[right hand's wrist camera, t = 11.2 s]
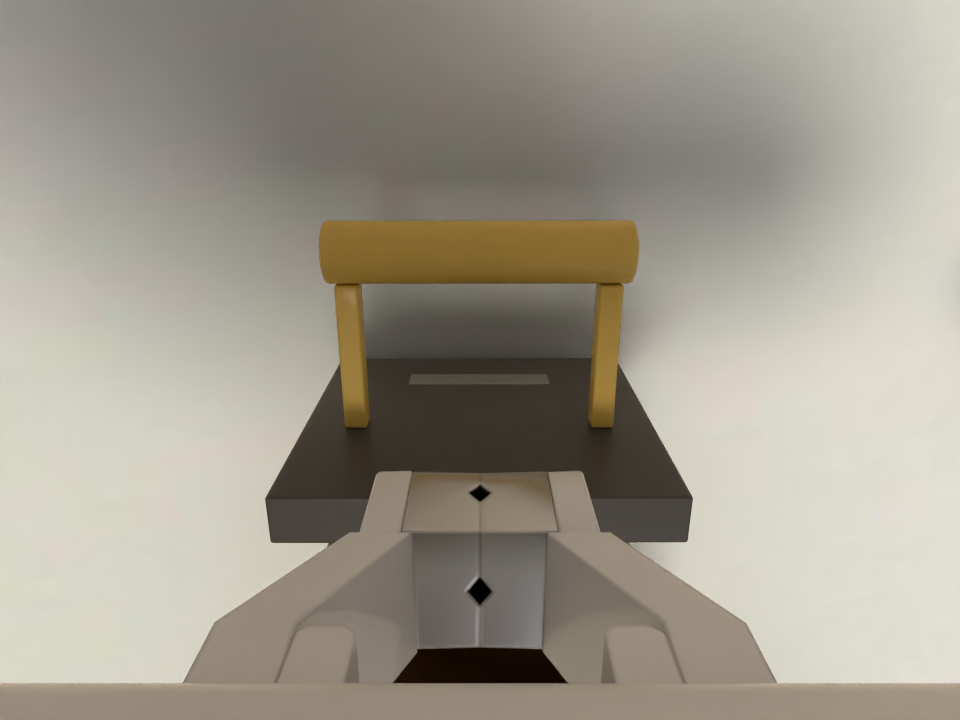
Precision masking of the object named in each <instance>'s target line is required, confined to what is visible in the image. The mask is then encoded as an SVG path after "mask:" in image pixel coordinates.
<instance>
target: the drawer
mask: <svg viewBox="0 0 960 720" xmlns="http://www.w3.org/2000/svg"><path fill="white" fill-rule="evenodd" d="M638 254H639V242H638V233H637V228H636V225H635V223H634V222H633V221H630V220H542V221H325V222H324V223H323V224H322V227H321V231H320V237H319V259H320V267H321V272H322V275H323V278H324V280H325V282H327V283H329V284H336V285H335V287H334V290H335V303H336V316H337V329H338V342H339V355H340V364H339V366H338V368H337V370H336V371H335V373H334V375H333V377H332V379H331V381H330V382H329V384H328V386H327V388H326V390H325V391H324V393H323V395H322V397H321V399H320V400H319V402H318V404H317V406H316V408H315V409H314V411H313V413H312V415H311V417H310V418H309V420H308V422H307V424H306V426H305V428H304V429H303V431H302V433H301V435H300V437H299V438H298V440H297V442H296V444H295V446H294V447H293V449H292V451H291V453H290V455H289V456H288V458H287V460H286V462H285V464H284V465H283V467H282V469H281V471H280V473H279V475H278V476H277V478H276V480H275V482H274V484H273V485H272V487H271V489H270V491H269V493H268V494H267V496H266V499H265V501H266V508H267V516H268V524H269V532H270V540H271V542H272V543H328V546H327V547H329V546H330V545H332V544H333V543H335V542H336V541H338V540H339V539H341V538H342V537H344V536H345V535H347V534H348V533H350V532H360V529H361V525H362V522H363V519H364V515H365V512H366V508H367V505H368V501H369V498H370V494H371V491H372V487H373V484H374V481H375V477H376V475H377V474H378V473H379V472H382V471H412V472H466V473H507V472H561V471H581V472H582V473H583V475H584V478H585V481H586V485H587V488H588V492H589V495H590V498H591V502H592V505H593V509H594V512H595V515H596V519H597V522H598V526H599V529H600V532H610V533H612V534H613V535H615V536H616V537H618V538H619V539H621V540H622V541H624V542H625V543H627V544H628V545H630V543H629V542H687V540H688V533H689V525H690V517H691V509H692V501H693V498H692V495H691V494H690V492H689V490H688V488H687V486H686V485H685V483H684V481H683V479H682V477H681V476H680V474H679V472H678V470H677V468H676V467H675V465H674V463H673V461H672V459H671V458H670V456H669V454H668V452H667V450H666V449H665V447H664V445H663V443H662V441H661V440H660V438H659V436H658V434H657V432H656V431H655V429H654V427H653V425H652V423H651V422H650V420H649V418H648V416H647V414H646V413H645V411H644V409H643V407H642V405H641V404H640V402H639V400H638V398H637V396H636V395H635V393H634V391H633V389H632V387H631V386H630V384H629V382H628V380H627V378H626V377H625V375H624V373H623V371H622V369H621V368H620V366H619V364H618V353H619V340H620V326H621V313H622V300H623V285H622V284H621V283H630V282H632V281H633V279H634V277H635V274H636V270H637V264H638ZM508 283H596V297H595V313H594V330H593V346H592V358H510V359H366V349H365V333H364V317H363V301H362V285H361V284H508ZM630 546H631V545H630ZM393 683H567V681H566V680H565V679H564V678H563V676H562V675H561V674H560V673H559V671H558V670H557V669H556V668H555V666H554V665H553V664H552V663H551V662H550V660H549V659H548V658H547V657H546V655H545V654H544V653H543V649H522V648H486V647H472V648H437V649H417V654H416V655H415V656H414V657H413V658H412V660H411V661H410V662H409V663H408V665H407V666H406V667H405V668H404V670H403V671H402V672H401V673H400V674H399V676H398V677H397V678H396V679H395V681H394V682H393Z"/></svg>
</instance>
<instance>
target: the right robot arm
mask: <svg viewBox="0 0 960 720" xmlns="http://www.w3.org/2000/svg"><path fill="white" fill-rule="evenodd" d="M472 647H486V648H522V649H543V653H544V654H545V655H546V657H547V658H548V659H549V660H550V662H551V663H552V664H553V665H554V666H555V668H556V669H557V670H558V671H559V673H560V674H561V675H562V676H563V678H564V679H565V680H566V681H567V683H393V682H394V681H395V679H396V678H397V677H398V676H399V674H400V673H401V672H402V671H403V670H404V668H405V667H406V666H407V665H408V663H409V662H410V661H411V660H412V658H413V657H414V656H415V655H416V654H417V649H437V648H472ZM0 720H960V683H777V682H776V680H775V678H774V676H773V674H772V672H771V670H770V668H769V666H768V664H767V662H766V660H765V659H764V657H763V655H762V653H761V651H760V649H759V647H758V645H757V643H756V641H755V639H754V637H753V635H752V634H751V632H750V630H749V628H748V626H747V624H746V623H745V622H743V621H742V620H740V619H739V618H737V617H736V616H734V615H733V614H731V613H730V612H728V611H727V610H725V609H724V608H722V607H721V606H719V605H718V604H717V603H715V602H714V601H712V600H711V599H709V598H708V597H706V596H705V595H703V594H702V593H700V592H699V591H697V590H696V589H694V588H693V587H691V586H690V585H688V584H687V583H685V582H684V581H682V580H681V579H679V578H678V577H676V576H675V575H673V574H672V573H670V572H669V571H667V570H666V569H664V568H663V567H661V566H660V565H658V564H657V563H655V562H654V561H652V560H651V559H649V558H648V557H646V556H645V555H643V554H642V553H640V552H639V551H637V550H636V549H634V548H633V547H631V546H630V545H628V544H627V543H625V542H624V541H622V540H621V539H619V538H618V537H616V536H615V535H613V534H612V533H610V532H600V529H599V526H598V522H597V519H596V515H595V512H594V509H593V505H592V502H591V498H590V495H589V492H588V488H587V485H586V481H585V478H584V475H583V473H582V472H581V471H561V472H507V473H466V472H412V471H382V472H379V473H378V474H377V475H376V477H375V481H374V484H373V487H372V491H371V494H370V498H369V501H368V505H367V508H366V512H365V515H364V519H363V522H362V525H361V529H360V532H350V533H348V534H347V535H345V536H344V537H342V538H341V539H339V540H338V541H336V542H335V543H333V544H332V545H330V546H329V547H327V548H326V549H324V550H323V551H321V552H320V553H318V554H317V555H315V556H314V557H312V558H311V559H309V560H308V561H306V562H305V563H303V564H302V565H300V566H299V567H297V568H296V569H294V570H293V571H291V572H290V573H288V574H287V575H285V576H284V577H282V578H281V579H279V580H278V581H276V582H275V583H273V584H272V585H270V586H269V587H267V588H266V589H264V590H263V591H261V592H260V593H258V594H257V595H255V596H254V597H252V598H251V599H249V600H248V601H246V602H245V603H243V604H242V605H240V606H239V607H237V608H236V609H234V610H233V611H231V612H230V613H228V614H227V615H225V616H224V617H222V618H221V619H219V620H218V621H216V622H215V623H214V625H213V627H212V628H211V630H210V632H209V634H208V636H207V638H206V640H205V642H204V644H203V646H202V647H201V649H200V651H199V653H198V655H197V657H196V659H195V661H194V663H193V664H192V666H191V668H190V670H189V672H188V674H187V676H186V678H185V680H184V682H183V683H0Z"/></svg>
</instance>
